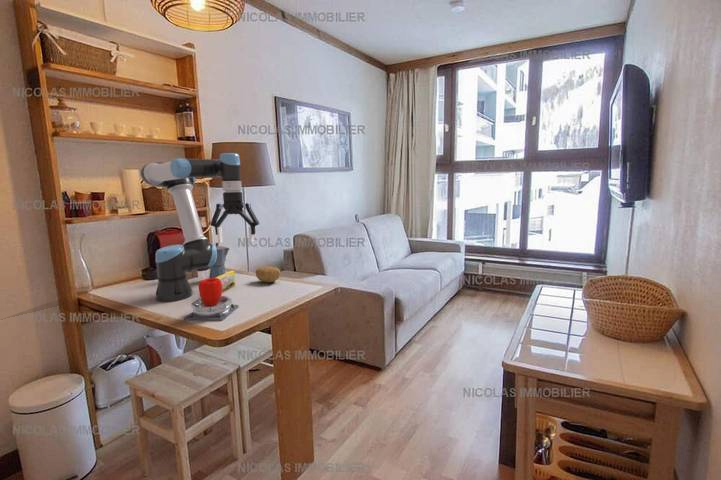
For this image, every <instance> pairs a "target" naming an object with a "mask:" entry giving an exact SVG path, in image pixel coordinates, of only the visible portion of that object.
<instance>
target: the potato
mask: <svg viewBox="0 0 721 480" xmlns="http://www.w3.org/2000/svg"><path fill="white" fill-rule="evenodd" d="M255 275H256V276H255V277H256V278H257V279H258V280H259V281H260V282H263V283H267V284H268V283H274V282H275V281H277V280H279V278H280V276H281V270H280V269H279V268H278V267H273V266H261V267H259V268H257V269H255Z"/></svg>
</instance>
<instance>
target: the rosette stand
mask: <svg viewBox="0 0 721 480" xmlns="http://www.w3.org/2000/svg"><path fill="white" fill-rule="evenodd" d="M190 304H191V305H190V306H191V309H192V312H191V313H188V315H187V316H184V318H183V319H184V321H215V320H216V321H217V322H218V321H221V322H222V321H224V320H225V319H226V318H227V317H229V316H230V315H231V314H232V313H234V312H235V311H236V310H237V309H238V308H240V307H239V304H235V303H233V299H232V298H231V297H229V296H228V295H221V298H220V300H219V302H218V303H217V304H215V305H213V306H206V305H204V303H203V301H202V299H201V298H198V299H196V300H194V301H193V302H192V303H190Z"/></svg>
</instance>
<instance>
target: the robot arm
mask: <svg viewBox="0 0 721 480" xmlns="http://www.w3.org/2000/svg"><path fill="white" fill-rule="evenodd" d="M140 177H141V179H142V180H143V182H144V183H145V184H147V185H149V186H152V187H156V188H166V189H167V193H169V194H171V195H172V198H173V202H174V204H175V209H176V213H177V216H178V220H179V223H180V227H181V230H182V233H183V237H184V242H183V243H182V244H171V245H168V246H164V247H160V248H159V249H157V250H156V251H155V260H154V261H155V265H156V273H157V281H158V282H157V287H156V291H155V300H156V301H157V302H162V303H163V302H175V301H180V300H184V299H187V298H189V297H191V296H192V295H193V290H192V289H193V288H192V287H191V285H190V283H189V281H188V279H187V278H186V272H188V271H193V270H201V269H202V270H203V269H207V268H210V267H211V266H213V265H214V264H215V262H216V259H217V249H216V247H215V246H216V244H214V243H213V242H210V241H209V238H208V237H206V236H205V235H204V231H203V228H202V224H201V221H200V217H199V214H198V210H197V207H196V203H195V200H194V196H193V193H192V190H193V189H194V185H195V183H196V178H197V179H198V178H200V179H201V178H205V179H206V178H213V179H215V178H216V179H218V178H221V185H222V191H223V193H222V200H223V201H222V202H223V203H221V202H220V203H216V205H215V211H214V213H213V216H212V219H211V221H210V223H209V224H210V226H211V227H214V230H215V235H216V236H217V241H218V242H217V243H219V244H221V243H224V241H223V240H224V238H223V227H222V226H221V225H222V224H223V222H224V221H225V220H226V218H227V217H228V215H239V216H240V217H241V218H242V219H244V221H245V222H246V223H247V225H249V227H248V236H249V243H250V244H252V243H254V242H255V237H254V236H255V235H256V227H257V226H259V225H260V222H259V220H258V218H257V216H256V214H255V213H254V211H253V209H252V205H251V203H250V202H246V203H243V192H242V190H243V188H242V187H243V186H242V172H241V159H240V154H239V153H235V152H223V153H220V154H219V158H218V159H212V158H208V159H206V158H184V157H180V158H173V159H172V160H171V161H167V162H163V161H160V162H159V161H155V162H154V161H153V162H148V163H146V164H144V165H143V166H142V168H141V169H140ZM244 208H245V209H246V211H247V214H248V215H249V216H248V215H247V214H246V212H245V210H243V209H244ZM222 209H224V211H223V213H222V214H221V211H222ZM220 214H221V215H220ZM219 216H220V217H219Z"/></svg>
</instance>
